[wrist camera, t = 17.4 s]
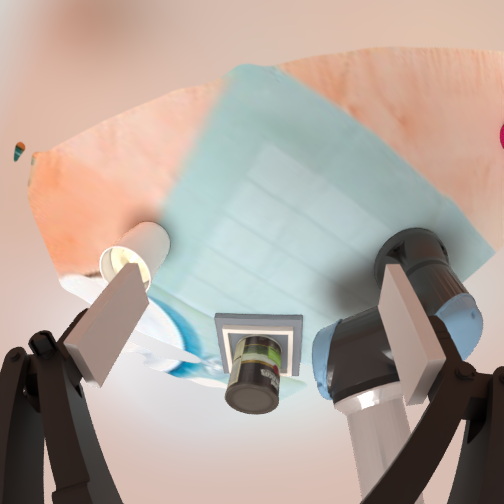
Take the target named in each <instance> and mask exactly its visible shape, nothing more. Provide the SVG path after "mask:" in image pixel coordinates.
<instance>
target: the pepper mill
mask: <svg viewBox="0 0 504 504" xmlns="http://www.w3.org/2000/svg"><path fill="white" fill-rule="evenodd" d="M500 140H501V144H502V146H503V148H504V125H503V127H502V129H501V133H500Z"/></svg>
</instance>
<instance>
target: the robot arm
mask: <svg viewBox="0 0 504 504" xmlns="http://www.w3.org/2000/svg"><path fill="white" fill-rule="evenodd" d="M374 273H375V278H376V281H377V283H378V286H379V288H380V290H381V295H380V300H379V304H378V306H376V307H374V308H371V309H369V310H366V311H364V312H361V313H359V314H356V315H354V316H351V317H348V318H346V319H341V320H338V321H337V322H336V323H334V324H332V325H330V326H327V327H325V328H323V329H321V330H320V331H319V332H318V333H317V335H316V337H315V339H314V341H313V347H312V365H313V372H314V377H315V380H316V381H317V387H318V390H319V392H320V394H321V395H322V396H323V398H325V399H328V400H333V403H334V407H335V409H337V410H339V411H340V412H342V413H344V414H345V415H346V416H347V420H348V425H349V430H350V435H351V440H352V445H353V450H354V455H355V461H356V467H357V472H358V478H359V484H360V490H361V496H362V501H361V503H360V504H424V500H423V493H422V491H423V490H424V488H425V487H426V485H427V483H428V482H429V480H430V478H431V477H432V475H433V473H434V472H435V470H436V468H437V466H438V465H439V463H440V461H441V459H442V457H443V455H444V454H445V452H446V449H447V448H448V446H449V444H450V442H451V440H452V438H453V436H454V434H455V432H456V429H457V427H458V425H459V423H460V421H461V419H463V420H466V426H465V432H464V437H463V443H462V448H461V453H460V457H459V462H458V466H457V470H456V474H455V478H454V482H453V486H452V489H451V492H450V496H449V499H448V502H447V504H504V366H501V367H499V368H497V369H496V370H495V371H494V373H493V374H483V373H478V372H476V369H475V368H474V367H473V366H472V365H471V364H469V363H468V362H464V360H465V359H466V358H467V357H468V356H469V355H470V354H471V353H472V351H473V349H474V348H475V347H476V345H477V344H478V342H479V340H480V337H481V334H482V330H483V318H482V315H481V312H480V311H479V309H478V307H477V305H476V302H475V300H474V298H473V297H472V296H471V295H470V294H469V292H468V291H467V290H466V288H465V287H464V286H463V284H462V283H461V281H460V280H459V279H458V277H457V276H456V275H455V273H454V272H453V271H452V270H451V268H450V264H449V259H448V255H447V251H446V249H445V247H444V245H443V243H442V242H441V241H440V240H439V239H438V237H437V236H436V235H435V234H433V233H432V232H430V231H428V230H425V229H420V228H413V229H408V230H404V231H402V232H399V233H398V234H396V235H394V236H393V237H391V238H390V239H389V240H388V241H387V242H386V243H385V244H384V245H383V247H382V248H381V250H380V251H379V253H378V255H377V258H376V261H375V267H374ZM148 304H149V301H148V298H147V294H146V291H145V287H144V284H143V280H142V276H141V272H140V269H139V265H138V263H126V264H125V265H124V266H123V268H122V269H121V270H120V271H119V272H118V273H117V275H116V276H115V277H114V278H113V279H112V281H111V282H110V283H109V284H108V286H107V287H106V288H105V289H104V290H103V292H102V293H101V294H100V295H99V297H98V298H97V299H96V300H95V302H94V303H93V304H92V305H91V307H90V308H86V309H85V310H83V311H82V312H80V313H79V314H78V315H77V317H76V318H75V319H74V321H73V322H72V323H71V324H70V325H69V327H68V328H67V330H66V331H65V332H64V333H63V335H62V336H61V337H60V338H59V340H58V341H57V342H56V341H55V339H54V337H53V335H52V333H51V332H50V331H46V330H43V331H39V332H38V333H35V334H34V335H33V336H32V337H31V338H30V340H29V343H28V345H29V347H30V348H31V350H32V352H33V353H34V354H30V355H28V354H27V353H26V351H25V350H24V348H22V347H16V348H13V349H11V350H10V351H9V352H8V353H7V354H6V356H5V359H4V362H3V365H2V369H1V372H0V504H44V487H43V485H44V484H43V465H44V439H45V440H46V446H47V450H48V455H49V460H50V465H51V469H52V473H53V477H54V481H55V484H56V491H54V492H52V501H53V504H123V502H122V500H121V498H120V495H119V493H118V491H117V489H116V486H115V484H114V482H113V479H112V477H111V474H110V472H109V470H108V467H107V464H106V462H105V459H104V456H103V453H102V451H101V448H100V445H99V442H98V439H97V436H96V433H95V430H94V427H93V424H92V420H91V417H90V414H89V410H88V407H87V403H86V399H85V396H84V392H83V388H82V386H81V384H80V381H81V379H82V377H83V378H84V380H85V381H86V383H87V384H88V385H90V386H94V387H98V388H101V386H102V385H103V383H104V381H105V379H106V377H107V375H108V374H109V372H110V370H111V368H112V366H113V365H114V363H115V361H116V359H117V357H118V356H119V354H120V352H121V350H122V349H123V347H124V345H125V343H126V342H127V340H128V338H129V337H130V335H131V333H132V331H133V330H134V328H135V326H136V325H137V323H138V321H139V319H140V318H141V316H142V314H143V313H144V311H145V309H146V308H147V306H148ZM24 390H25V391H24ZM403 395H404V398H405V402H406V405H407V406H408V405H415V404H422V403H423V402H424V400H425V399H426V397H427V395H428V398H429V401H430V403H429V405H428V407H427V408H426V410H425V412H424V413H423V415H422V417H421V419H420V421H419V422H418V424H417V426H416V427H415V429H414V431H413V432H412V434H411V432H410V428H409V424H408V420H407V416H406V412H405V408H404V404H403V399H402V398H403V397H402V396H403Z"/></svg>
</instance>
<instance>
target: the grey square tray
mask: <svg viewBox="0 0 504 504" xmlns="http://www.w3.org/2000/svg"><path fill="white" fill-rule="evenodd" d="M214 319H215V325H216V330H217V336H218V342H219V347H220V353H221V358H222V364H223V369H224V373H229V374H231V369H232V365H233V361H234V356H235V352H236V345H237V343H238V341H239V340H240V339H241V338H243V337H245V336H247V335H251V334H263V335H267V336H270V337H272V338H274V339H275V340H276V341H277V342H278V343H279V344H280V345H281V348H282V355H281V368H280V376H299V365H300V351H301V335H302V315H254V314H223V313H216V314H215V317H214Z"/></svg>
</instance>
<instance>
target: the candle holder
mask: <svg viewBox="0 0 504 504" xmlns="http://www.w3.org/2000/svg"><path fill="white" fill-rule="evenodd" d="M169 250H170V239H169V236H168V234H167V232H166V231H165V230H164V229H163V228H162V227H161V226H160V225H158V224H156V223H154V222H142V223H140V224H138V225H136V226H135V227H134V228H132V229H131V230H130V231H128V232H127V233H126V234H125V235H123V236H122V237H121V238H120V239H119V240H117V241H116V242H115V243H114V244H112V245H111V246H110V247H108V248H107V249H106V250H105V251H104V252H103V253H102V255H101V257H100V262H99V266H100V271H101V274H102V277H103V278H104V280H105V282H106V283H107V284H109V283H110V282H111V281H112V279H113V278H114V277H115V276H116V275H117V273H118V272H119V271H120V270H121V269H122V268H123V266H124V265H125V264H126V263H138V265H139V269H140V272H141V276H142V280H143V284H144V287H145V291H146V292H147V291H148V290H149V288H150V286H151V283H152V281H153V280H154V278H155V276H156V274H157V272H158V271H159V269H160V267H161V265H162V263H163V262H164V260H165V258H166V256H167V254H168V252H169Z"/></svg>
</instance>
